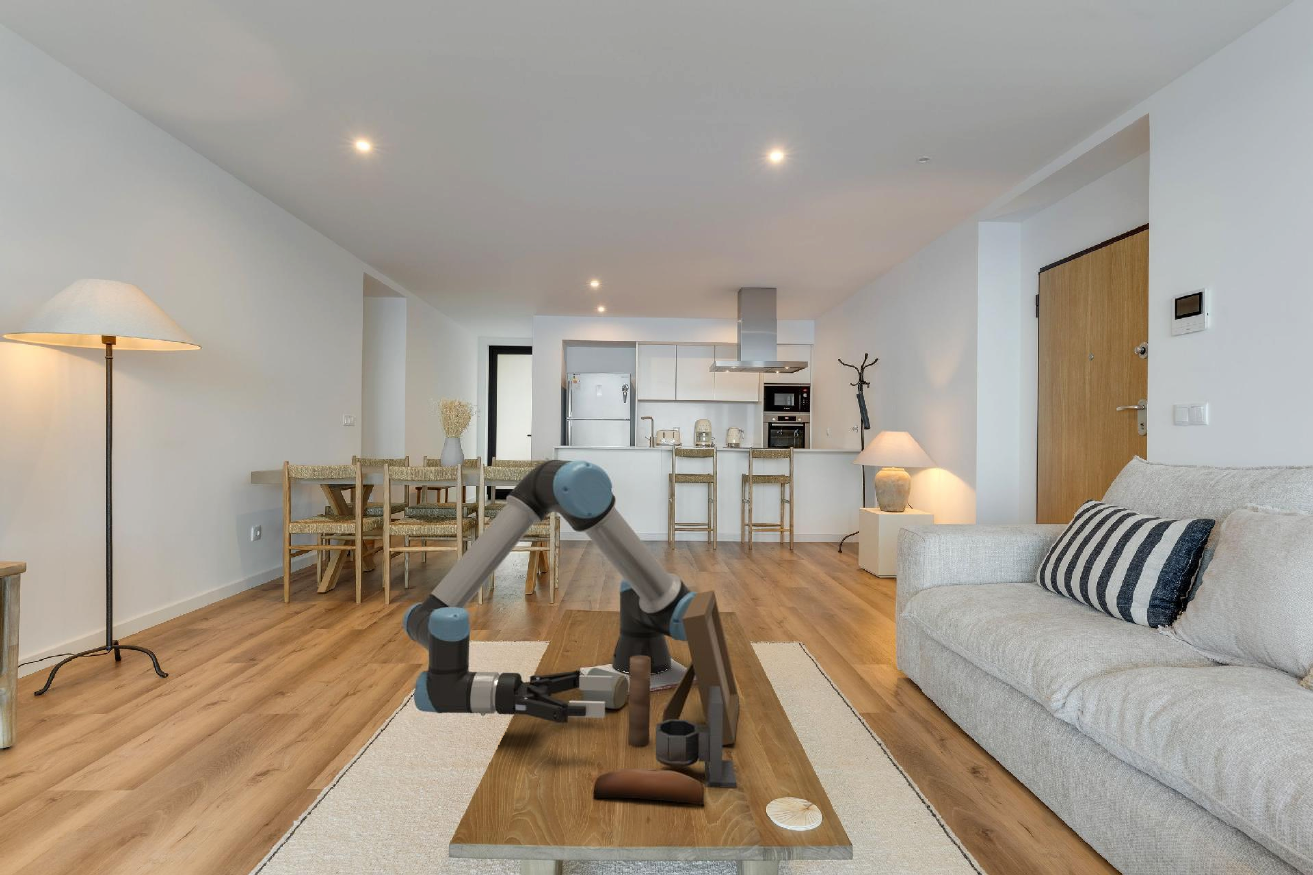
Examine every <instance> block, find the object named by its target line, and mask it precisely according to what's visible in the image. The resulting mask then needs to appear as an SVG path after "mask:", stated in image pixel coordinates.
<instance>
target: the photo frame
mask: <svg viewBox="0 0 1313 875" xmlns="http://www.w3.org/2000/svg"><path fill="white" fill-rule="evenodd" d="M682 620H683V624H684V629H685V633H686V637H687V641H686V642H687V646H688V650H689V654H690V658H691V661H690V663H689V665H688V667H687V669H686V670H685V672H684V674H683V675H682V676H681V679H680V680H679V682H678V684H677V686H676V687H675V689H674V690H673V693H672V694H671V696H670V698H669V700H668V702H667V703H666V704H665V706H664V708H663V712H662V714H663V715H662V720H661V722H663V721H666V720H668V719H676V720H680V717H681V714H682V712H683V709H684V707H685V705H686V701H687V698H688V696H689V693H690V690H691V688H692V685H693V682H694V680H696V685H697V689H698V693H699V698H700V703H701V705H702V710H703V711H702V712H703V715H704V720H705V723H706V724H705V725H708V686H720V691H721V696H722V702H723V725H722V746H725V745H731V744H734V743H735V737H736V733H737V732H736V731H737V723H738V714H739V708H740V706H739V705H740V697H739V693H738V687H737V684H736V680H735V675H734V671H733V667H732V661H731V659H730V654H729V650H728V645H727V641H726V637H725V633H724V628H723V623H722V620H721V616H720V611H719V607H718V603H717V597H716V594H715V590H709V591H703V592H697V594H695V595H694V597H693V599H692V601H691V603H690V605H689V606H688V608H687V610H686V612H685V614H684V616H683V618H682Z"/></svg>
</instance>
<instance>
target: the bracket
mask: <svg viewBox="0 0 1313 875" xmlns="http://www.w3.org/2000/svg"><path fill="white" fill-rule="evenodd" d="M722 725H723V702H722V696H721V691H720V686H708V725H707V724H698V723H695V722H692V721H690V720H687V719H679V720H676V719H668V720H666V721H663V722H662V721H660V722H658V723H656V725H655V760H656V761H657V762H658V763H660V764H662V765H664V766H667V767H671V768H684V767H690V766H692V765H694V764H695V763H698V762H700V763H704V764H705V765H704V774H705V783H706V787H707V788H737V786H738V784H737V783H738V782H737V778H736V773H735V766H734V761H733V760H726V759H723V745H722Z"/></svg>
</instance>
